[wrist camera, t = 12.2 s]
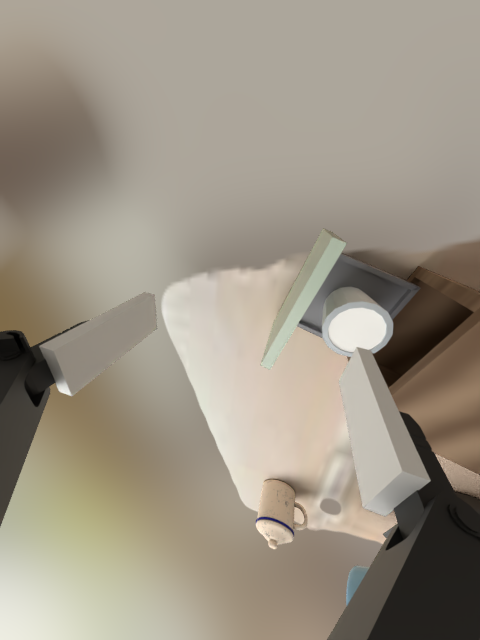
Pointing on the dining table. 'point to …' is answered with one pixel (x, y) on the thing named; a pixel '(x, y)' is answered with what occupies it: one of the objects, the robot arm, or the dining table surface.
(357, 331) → the shot glass
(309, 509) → the dining table surface
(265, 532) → the teacup with lid
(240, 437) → the dining table surface
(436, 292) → the box
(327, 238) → the pale green angular block
